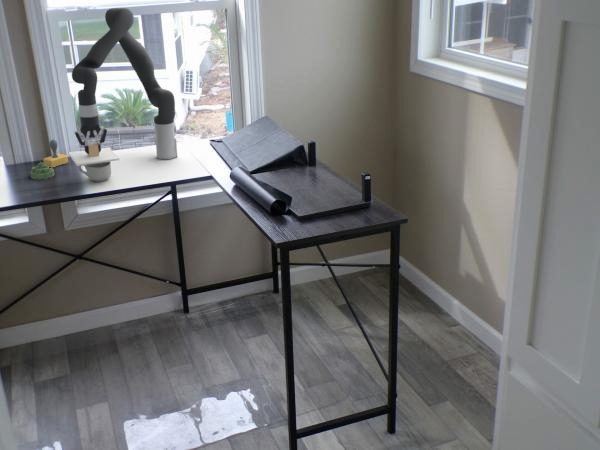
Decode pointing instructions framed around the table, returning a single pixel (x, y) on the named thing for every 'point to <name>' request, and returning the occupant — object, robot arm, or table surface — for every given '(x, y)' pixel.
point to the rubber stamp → (55, 156)
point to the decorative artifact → (42, 171)
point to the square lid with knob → (93, 155)
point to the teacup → (97, 171)
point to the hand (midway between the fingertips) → (93, 152)
